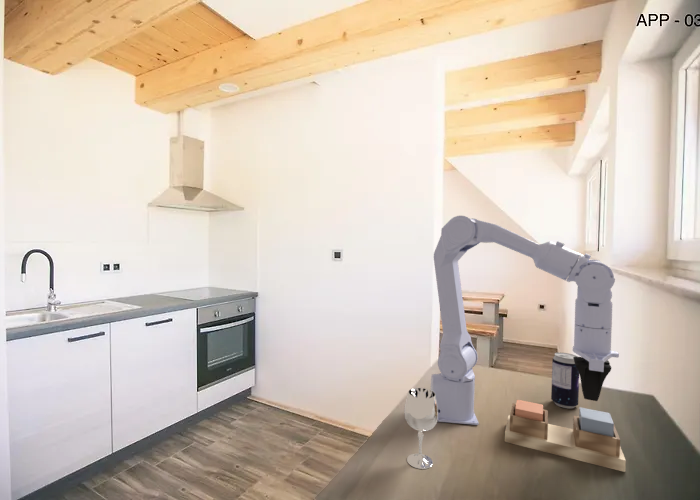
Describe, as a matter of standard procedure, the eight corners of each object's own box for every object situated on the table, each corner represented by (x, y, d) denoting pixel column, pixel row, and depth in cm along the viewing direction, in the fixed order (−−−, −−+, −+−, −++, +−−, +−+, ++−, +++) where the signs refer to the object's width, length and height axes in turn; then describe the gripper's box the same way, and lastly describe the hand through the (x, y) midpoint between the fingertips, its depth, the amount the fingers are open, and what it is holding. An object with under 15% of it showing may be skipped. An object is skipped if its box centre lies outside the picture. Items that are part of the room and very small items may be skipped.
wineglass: (413, 448, 68) (415, 384, 68) (442, 460, 65) (444, 392, 65) (396, 462, 64) (398, 393, 64) (427, 475, 60) (429, 403, 60)
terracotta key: (514, 423, 72) (515, 408, 72) (516, 413, 76) (516, 399, 76) (542, 429, 70) (543, 414, 70) (542, 419, 74) (543, 404, 74)
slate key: (581, 433, 67) (581, 417, 67) (578, 422, 71) (579, 407, 71) (613, 440, 65) (613, 423, 65) (609, 428, 69) (609, 413, 69)
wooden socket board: (504, 441, 72) (505, 416, 72) (508, 424, 79) (509, 401, 79) (625, 472, 63) (626, 442, 63) (617, 449, 70) (618, 423, 70)
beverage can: (582, 411, 86) (584, 360, 86) (555, 408, 87) (557, 357, 87) (572, 401, 92) (574, 353, 91) (547, 398, 93) (549, 351, 92)
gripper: (627, 336, 60) (624, 420, 60) (612, 321, 73) (610, 389, 73) (576, 331, 63) (574, 410, 63) (570, 317, 76) (569, 382, 76)
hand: (590, 398), depth 68 cm, fingers closed
